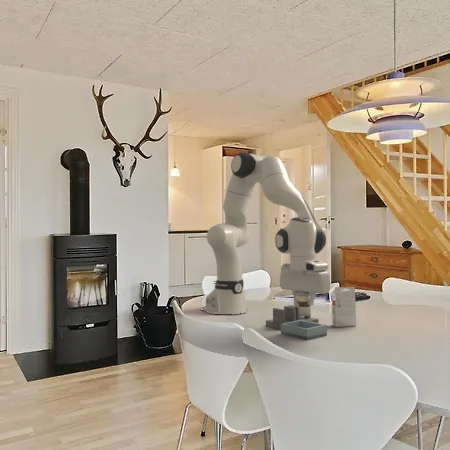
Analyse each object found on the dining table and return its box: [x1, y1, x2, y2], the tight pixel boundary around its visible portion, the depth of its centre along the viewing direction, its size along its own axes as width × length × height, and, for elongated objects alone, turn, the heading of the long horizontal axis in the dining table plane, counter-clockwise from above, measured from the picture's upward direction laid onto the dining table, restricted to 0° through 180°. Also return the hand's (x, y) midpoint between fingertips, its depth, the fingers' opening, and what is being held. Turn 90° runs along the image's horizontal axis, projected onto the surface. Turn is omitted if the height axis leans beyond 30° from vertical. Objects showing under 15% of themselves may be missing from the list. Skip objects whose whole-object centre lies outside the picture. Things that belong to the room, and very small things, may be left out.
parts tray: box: [280, 320, 328, 341], centre depth 159 cm, size 12×10×4 cm
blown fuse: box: [298, 291, 312, 316], centre depth 159 cm, size 4×4×8 cm
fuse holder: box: [265, 304, 319, 330], centre depth 174 cm, size 12×16×7 cm
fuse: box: [293, 297, 305, 319], centre depth 176 cm, size 4×4×8 cm
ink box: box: [331, 286, 357, 328], centre depth 171 cm, size 4×8×15 cm, turn 96°
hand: (304, 304), depth 159 cm, fingers closed on blown fuse, 4 cm apart
